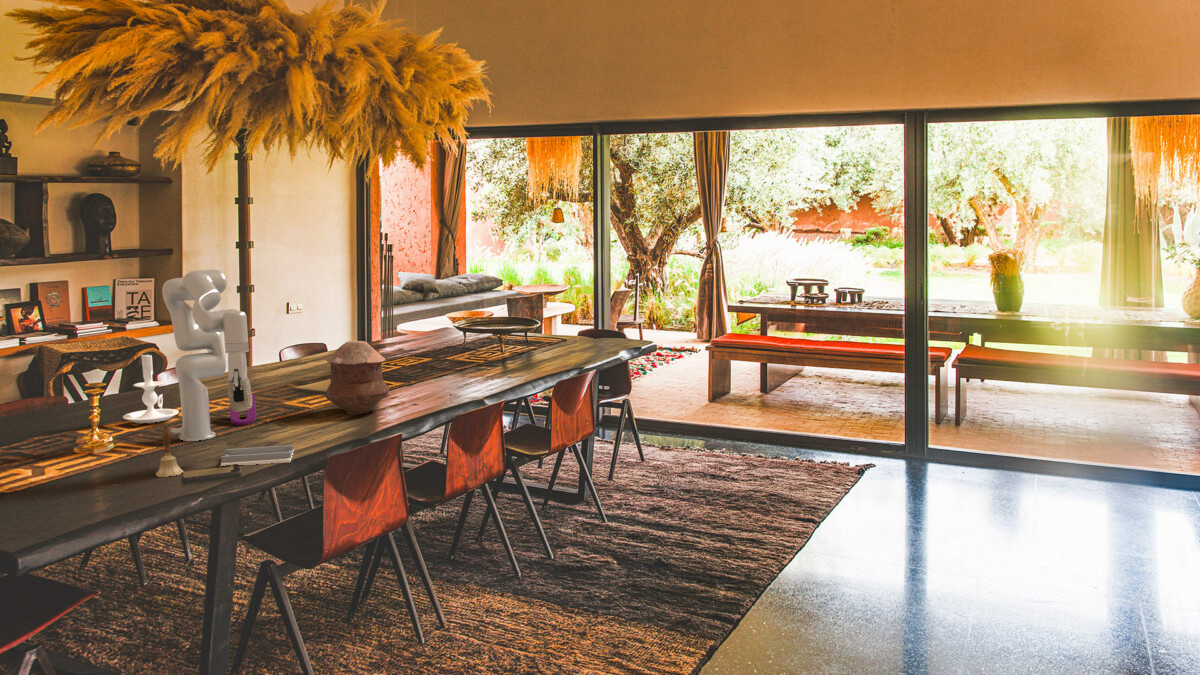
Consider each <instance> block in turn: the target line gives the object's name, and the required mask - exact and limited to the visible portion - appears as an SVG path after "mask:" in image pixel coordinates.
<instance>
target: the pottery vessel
mask: <svg viewBox="0 0 1200 675" xmlns="http://www.w3.org/2000/svg"><path fill="white" fill-rule="evenodd" d="M325 361H326V362H328V363H330V379H329V380H330V383H329V385H328V387H327V388H326V391H325V394H324V396H325V399H327V400H328V401H329V402H331V403H332V404H334V405H335V406H337V407H339V408H340V409H342V410H343V411H345V412H346V414H347V415H364V413H365V414H368V413H370V412H372V409H373V408H374V407H375V406H376V405H377V404H379V403H380V402H381V400H383V399H384V398H386V397H387V396H388V395H389V393H390V389H389V387H388V385H387V383H386V382H385V381H384V379H383V362H385V361H386V358H385V357H384V356H382V355H381V353H379V352H378V351H377V350H376V349H374V348H373V347H372V346H371V345H370V344H369V343H368V342H367V341H363V340H349V341H345V343H343V344H342V345H340V346H339V347H338V348H337V349H336V351H334V352H333V353H332V354H330V356H329V355H328V356H327V357H326V359H325Z"/></svg>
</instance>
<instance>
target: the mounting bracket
mask: <svg viewBox="0 0 1200 675" xmlns="http://www.w3.org/2000/svg"><path fill="white" fill-rule="evenodd" d="M256 404H257V403H256V394H255V393H253V394H252V407H251V408H250V409H249V410H245V411H244V412H246V418H244V419H243V418H242V419H241V418H240V412H234V411H233V410H232V408H231V405H230V411H229V412H230V414H229V415H230V422H231V424H233V425H234V426H237V425H242V426H248V425H247V424H250V425H251V424H254V422H255V421H256V419H257V408H256V406H257V405H256Z"/></svg>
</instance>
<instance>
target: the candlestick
mask: <svg viewBox="0 0 1200 675" xmlns="http://www.w3.org/2000/svg"><path fill="white" fill-rule="evenodd" d="M141 366H142V375H143V376H142V377H143V378H142V379H144V382H136V383H134V384H132V386H133V387H136V388H141V389H143V390H144V392H143V394H142V397H141V401H142V402H143V404H144V405H145V406H146V408H147V409H143V410H137V411H133V412H129V413H126V414H124V415H123V416H122V419H125V420H127V421H130V422H131V423H135V424H142V423H147V424H156V423H155V422H157V423H162V422H164V421H168V420H170V419H171V418H173V417H175V416H176V415H177V414H179V413H180V411H179V410H178V409H175V408H163V404H164V403H163V402H164V399H163V395H164V394H163V393H162V394H159V395H157V393H156V391H155V388H156V387H158V386H161V385H164V384H165V382H164V381H161V380H160V381H159V380H157V381H154V380H153V375H154V370H153V369H154V368H153V356H152V354H149V353H146V354H141ZM156 404H157V406H158V407H159V408H154V406H155V405H156ZM161 421H162V422H161Z"/></svg>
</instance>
